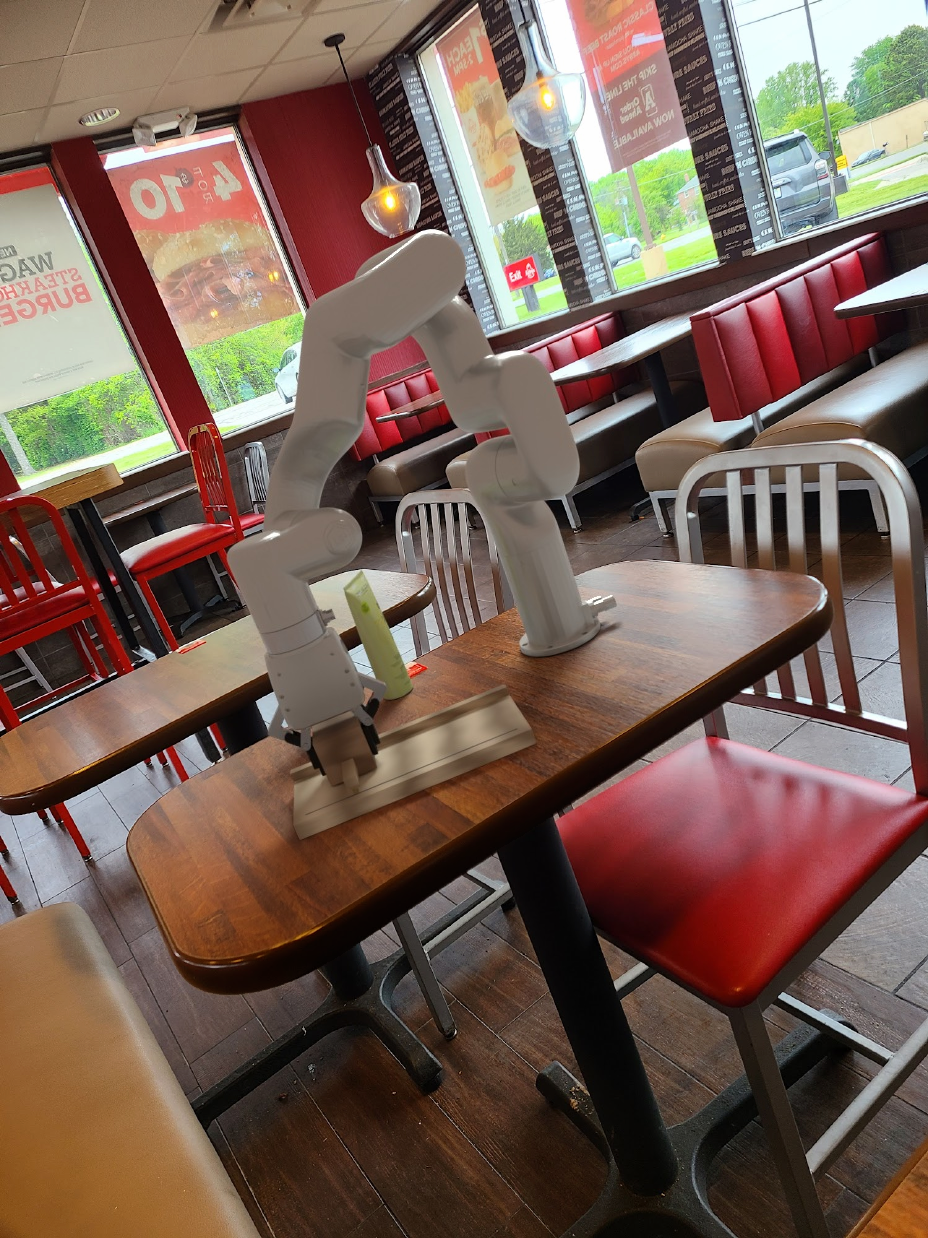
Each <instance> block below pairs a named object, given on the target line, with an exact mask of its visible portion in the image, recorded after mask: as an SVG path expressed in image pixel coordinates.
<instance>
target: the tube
mask: <svg viewBox="0 0 928 1238" xmlns="http://www.w3.org/2000/svg"><path fill="white" fill-rule="evenodd" d="M342 590H343V593H344V596H345V599H346V602H347V605H348V608H349V611H350V614H351V616H352V619H353V621H354V624H355V627H356V630H357V633H358V635H359V638H360V641H361V643H362V645H363V649H364V652H365V654H366V656H367V660H368V662H369V665H370V668H371V669H372V672H373V675H374V678H375V679H378V680H380V681H383V682H385V684H386V687H387V690H386V692H385V694H384V696H383V699H384V700H389V701H390V700H396V699H400V698H402V697H404V696H406V695H407V694H408V693H410V692H411V691H412V689H413V687H414V685H413V682H412V680H411V676H410V675H409V672H408V669H407V667H406V664H405V663H404V660H403V658H402V655H401V653H400V651H399V648H398V646H397V643H396V641H395V639H394V637H393V634H392V631H391V629H390V627H389V624H388V622H387V620H386V618H385V615H384V614H383V611H382V609H381V607H380V604H379V603H378V599H376V595H375V593H374V592H373V589H372V587H371V585H370V583H369V580H368V579H367V576H366V574H365V573H364V571H363V569H360V570H359V572H358V573H356V575H355V576H354V577H353V578H351V579H350V581H349V582H348V583H347V584H346V585H345V586H344V587H343V589H342Z"/></svg>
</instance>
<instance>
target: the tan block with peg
mask: <svg viewBox="0 0 928 1238" xmlns="http://www.w3.org/2000/svg"><path fill="white" fill-rule="evenodd" d="M311 735H312V736H311V737H312V740H313V747H314V749H315V751H316V753H317V756H318V758H319V760H320V762H321V765H322V767H323V769H324V771H325V773H326V776H327V778H328V780H329V782H330V785H331V787H332V786H334V785H336V784H339V783H341V782H344V784H345V786H346V788H347V790H348V791H350V790H352V791H353V793H354V794H355V793H358V792H359V789H358V787H360V784H359V777H358V776H359V775H361V774H364V773H366V772H369V771H371V770H373V769H376V768H377V764H376V759H375V755H373V754H372V752H371V749H370V747H369V745H368V742H367V740H366V738H365V735H364V733H363V730H362V726H361V721H360V720H359V719H358V718H357V717H356V716H355V715H354V714H353V713H352V712H351V711H349V712H346V713H344V714H341V715H339V716H336V717H334V718H331V719H329V720H326V721H324V722H321V723H319V724H316V725H314V726H312V729H311Z"/></svg>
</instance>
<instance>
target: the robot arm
mask: <svg viewBox="0 0 928 1238" xmlns="http://www.w3.org/2000/svg"><path fill="white" fill-rule="evenodd" d="M466 275H467V261H466V258H465V254H464V252H463V250H462V247H461V246H460V245H459V243H458V242H457V241H456V240H455V238H453V237H452V236H451V235H449V234H448V233H446V232H444V231H442V230H437V229H426V230H422V231H420V232H417V233H415V234H413V235H411V236H409V237H406V238H405V239H403V240H401V241H399V242H398V243H396V244H394V245H392V246H389V247H388V248H387V247H386V248H385V249H384V250H381V251H380V252H378V253H376V254H374V255H373V256H372V257H369V258H368V259H367V260H366V261H365V262H363V264H362V265H360V267H359V268H358V269H357V271H356V273H355V276H354V279H353V280H350V281H348V282H346V283H344V284H343V285H341V286H339V287H337V288H335V289H334V288H333V289H332V290H330V291H328V292H327V293H325V294H323V295H321V296H319V297H318V298H317V299H315V300H314V301H313V302H312V303H311V304H310V306H309V307H308V309H307V311H306V314H305V316H304V321H303V326H302V335H301V344H300V345H301V346H300V355H299V365H298V374H297V375H298V376H297V384H296V387H297V388H296V394H295V402H294V403H295V404H294V413H293V419H292V422H291V425H290V427H289V430H288V431H287V434H286V436H285V437H284V440H283V442H282V445H281V448H280V451H279V452H278V456H277V458H276V460H275V463H274V465H273V467H272V470H271V474H270V478H269V481H268V484H267V492H266V498H265V504H264V505H265V507H264V515H263V516H264V518H263V527H262V529H263V532H260V533H256V534H254V535H252V536H249V537H246V538H244V539H243V540H240V541H239V542H237V543H235V544H233V545H232V546H231V547H230V548H229V550H228V551H227V555H226V561H227V564H228V566H229V569H230V571H231V573H232V575H233V577H234V580H235V582H236V585H237V586H238V589H239V591H240V593H241V596H242V598H243V600H244V603H245V605H246V607H247V609H248V612H249V614H250V615H251V618H252V620H253V623H254V625H255V627H256V629H257V631H258V634H259V636H260V638H261V640H262V642H263V644H264V647H265V649H266V651H267V652H265V654H264V655H263V656H264V662H265V667H266V671H267V675H268V678H269V680H270V684H271V687H272V689H273V692H274V697H275V698H276V700H277V703H278V704H277V708H276V710H275V712H274V715H273V717H272V719H271V721H270V723H269V726H268V729H267V735H268V736H269V737H272V738H274V739H277V740H280V741H285V743H287V744H290V745H292V746H295V747H298V748H300V749H301V750H302V751H304V752H306V754H307V757H308V758H309V761H310V762H311V763H312V765H313V768H314V769H315V770H316V769H318V768H319V769H320V772H321V774H322V776H325V775H326V773H325V771H324V769H323V767H322V765H321V762H320V760H319V758H318V756H317V753H316V751H315V749H314V747H313V740H312V736H311V735H312V729H311V726H313V725H316V724H319V723H321V722H324V721H326V720H329V719H331V718H334V717H336V716H339V715H341V714H344V713H346V712H348V711H351V712H352V713H353V714H354V715H355V716H356V717H357V718H358V719H359V720H360V721H361V726H362V730H363V733H364V735H365V738H366V740H367V742H368V745H369V747H370V749H371V752H372V754H373V755H377V754H378V749H377V745H378V744H380V743H381V742H380V739H379V736H378V735H379V734H378V731H377V730H376V728H375V724H374V718H375V717H376V714H377V712H378V710H379V707H380V706H381V705H380V704H381V702H382V700H383V699H384V697H383V696H384V694H385V692H386V690H387V687H386V684H385V682H383V681H380V680H378V679H376V678H375V677H372V676H369V675H368V674H365V673H362V672H359V671H358V669H357V667H356V665H355V663H354V661H353V659H352V657H351V654H350V653H349V651H348V648H347V647H346V645H345V642H344V641H343V640H342V638H341V637H340V635H339V633H338V632H337V630H336V629H335V628H334V627H333V626H329V623H331V621H333V620H336V619H337V618H336V616H335V615H336V614H335V613H334V611H333V608H329V609H327V610H326V609H322V608H319V606H318V603H317V602H316V598H315V597H314V594H313V593H312V590H311V586H310V585H309V583H308V582H309V580H311V579H314V578H316V577H319V576H323V575H326V574H329V573H331V572H336V571H337V570H340V569H342V568H344V567H345V566H348V565H349V564H350V563H351V562H353V560H354V559H355V558H356V556H358V553H359V552H360V549H361V546H362V543H363V534H362V529H361V526H360V524H359V522H358V521H357V520H356V518H355V517H354V516H353V515H352V514H351V513H349V512H347V511H346V510H343V509H340V508H337V507H320V503H321V497H322V493H323V490H324V487H325V483H326V481H327V479H328V478H329V475H330V473H331V471H332V470H333V468H334V466H335V465H336V464H337V463H338V461H339V460H340V459H341V458H343V456H344V455H345V454H346V453H347V452H348V451H349V449H350V448H352V447H353V445H354V444H355V442H356V441H357V440H358V439H359V437H360V436H361V434H362V432H363V430H364V427H365V422H366V410H367V400H368V399H367V397H368V391H369V390H368V389H369V378H370V370H371V361H372V360H371V359H372V356H373V355H377V354H378V353H381V352H385V351H386V350H389V349H391V348H393V347H395V346H397V345H398V344H400V343H401V342H403V341H404V340H406V339H407V338H408V337H410V336H411V337H413V339H414V340H415V341H416V343H417V344H418V345H419V346H420V348H421V350H422V352H423V354H424V355H425V357H426V360H427V363H428V364H429V366H430V370H431V371H432V374H433V376H434V378H435V381H436V383H437V387H438V389H439V391H440V393H441V395H442V398H443V401H444V404H445V406H446V409H447V410H448V413H449V416H450V418H451V419H452V421H453V424H455V425H456V427H457V428H458V429H459V430H461V431H463V432H465V433H469V434H479V433H486V432H493V431H497V430H502V429H503V430H504V429H508V431H509V434H505V435H502V436H497V437H491V438H490V439H487V440H485V441H482V442H480V443H479V444H478V445H477V446H475V447H474V448H473V449H472V451H470V453H469V455H468V457H467V459H466V462H465V466H464V467H465V468H464V477H465V482H466V486H467V488H468V490H469V492H470V495H471V496H472V499H473V500H474V502H475V504H476V505H477V508H478V509H479V510H480V512H481V514H482V517H483V518H484V519H485V522H486V524H487V527H488V530H489V532H490V534H491V536H492V540H493V542H494V545H495V548H496V551H497V554H498V556H499V559H500V563H501V565H502V568H503V572H504V573H505V576H506V579H507V582H508V586H509V589H510V591H511V594H512V597H513V600H514V603H515V606H516V608H517V611H518V615H519V617H520V620H521V623H522V627H523V630H524V634H523V636H521V638H520V639H519V642H518V645H519V648H520V651H521V653H522V654H524V655H526V656H529V657H537V658H538V657H539V658H540V657H547V656H548V657H549V656H554V655H558V654H562V653H565V652H567V651H571V650H574V649H576V648H578V647H580V646H583V645H584V644H586V643H587V642H589V641H591V639H593V638H594V637H596V635H597V634H598V633H599V631H600V630H601V622H600V620H599V618H598V617H599V614H600V613H603V612H607V611H609V610H612V609H614V608H616V607H617V602H616V599H615V597H614V595H609V596H606V597H603V598H602V596H601V595H599V596H595V597H593V598H591V599H589V600H586V599H584V598H582V596H581V593H580V590H579V588H578V585H577V581H576V578H575V575H574V572H573V568H572V566H571V563H570V559H569V557H568V556H569V555H568V553H567V550H566V547H565V544H564V541H563V537H562V535H561V531H560V528H559V525H558V521H557V520H556V518H555V515H554V513H553V511H552V510H551V508H550V507H549V505H548V504H547V503H546V501H550V500H555V499H559V498H562V497H564V496H565V495H567V494H569V493H570V492H571V491H572V490H573V489H574V487H575V486H576V484H577V482H578V480H579V477H580V476H579V475H580V468H581V467H580V465H581V464H580V457H579V451H578V448H577V444H576V441H575V438H574V435H573V433H572V430H571V427H570V424H569V421H568V419H567V415H566V413H565V410H564V407H563V404H562V401H561V399H560V396H559V393H558V391H557V390H558V389H557V387H556V384H555V382H554V380H553V378H552V375H551V373H550V372H549V370H548V369H547V367H546V366H545V365H544V364H543V362H542V361H541V360H540V359H539V358H537V357H536V356H535V355H533V354H532V353H530V352H527V351H525V350H524V351H523V350H518V349H517V350H509V351H504V352H501V353H497V354H495V353H494V352H493V350H492V347H491V345H490V343H489V341H488V339H487V335H486V334H485V331H484V330H483V327H482V325H481V323H480V320H479V318H478V316H477V314H476V313H475V312H474V310H473V309H472V307H470V305H469V304H468V303H467V302H466V301H465V299H463V298H462V297H461V296H460V295H459V293H460V292H461V289H463V286H464V283H465V280H466V277H467V276H466ZM327 626H328V627H327ZM365 688H366V689H368V690H371V691H372V693H371V696H370V697H368V701H367V703H366V705H365V703H364V702H365V700H366V694H365ZM284 721H285V722H286V724H287V726H288V728H286V727H284V726H283V724H284V723H283V722H284ZM299 731H300V732H299Z"/></svg>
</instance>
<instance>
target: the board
mask: <svg viewBox="0 0 928 1238" xmlns="http://www.w3.org/2000/svg"><path fill="white" fill-rule="evenodd" d="M510 695H511V694H510V693H509V691H508V688H507V685H506V684H505V683H504V684H501V685H499V686H495V687H494V688H491V689H489V690H486V691H483V692H480V693H479V694H476V695H473V696H471V697H469V698H466V699H464V700H461V701H459V702H456V703H454V704H451V705H449V706H446V707H444V708H442V709H438V710H436V711H434V712H431V713H429V714H427V715H424V716H422V717H418V718H416V719H414V720H411V721H409V722H407V723H404V724H401V725H400V726H397V727H393V728H392V729H389V730H386V731H384V732H381V733H379V734H378V736H379V739H380V742H381V743H380V744H378V745H377V749H378V754H377V755H375V759H376V764H377V768H376V769H373V770H371V771H369V772H366V773H364V774H361V775H359V776H358V777H359V784H360V787H358V789H359V792H358V793H355V794H354V793H353V791H352V790H350V791H348V790H347V788H346V786H345V784H344V782H341V783H339V784H336V785H334V786H332V787H331V785H330V782H329V780H328V778H327V776H326V775H325V776H322V774H321V772H320V769H319V768H318V769H316V770H315V769H314V768H313V765H312V763H311V761H310V762H307V763H304V764H302V765H299V766H297V767H295V768H292V769H290V776H291V778H292V780H293V822H292V823H293V828H294V831H295V832H296V835H297V837H298V838H299V840H300V841H302V840H304V839H306V838H309V837H310V836H313V835H316V834H318V833H321V832H323V831H326V830H328V829H330V828H333V827H336V826H338V825H340V824H343V823H345V822H347V821H349V820H352V819H355V818H357V817H360V816H363V815H365V814H367V813H370V812H372V811H375V810H377V809H380V808H382V807H385V806H387V805H389V804H393V803H394V802H397V801H399V800H401V799H404V798H406V797H409V796H411V795H413V794H417V793H418V792H421V791H423V790H427V789H428V788H431V787H433V786H436V785H438V784H441V783H443V782H445V781H448V780H451V779H454V778H455V777H457V776H460V775H463V774H465V773H467V772H470V771H472V770H474V769H478V768H480V767H483V766H484V765H487V764H490V763H492V762H494V761H497V760H499V759H502V758H505V757H507V756H509V755H512V754H514V753H517V752H519V751H521V750H523V749H526V748H528V747H530V746H533V745H536V744H538V742H537V739H536V737H535V735H534V734H535V733H534V731H533V729H532V727H531V726H530V724H529V723H528V721H527V720H526V718H525V717H524V715H523V714H522V712H521V710H520V709H519V707H518V706H517V705H516V703H515V701H514V700H513V699H512V696H510Z"/></svg>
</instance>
